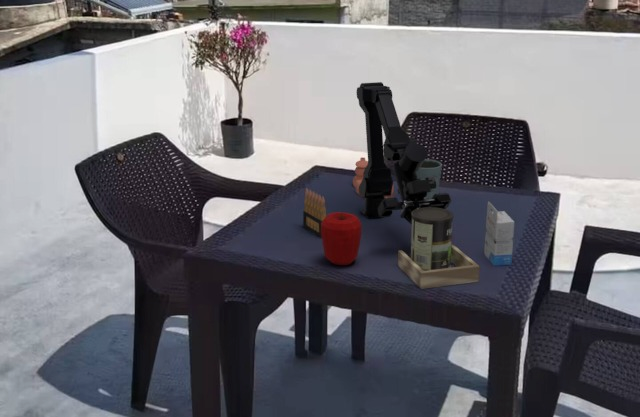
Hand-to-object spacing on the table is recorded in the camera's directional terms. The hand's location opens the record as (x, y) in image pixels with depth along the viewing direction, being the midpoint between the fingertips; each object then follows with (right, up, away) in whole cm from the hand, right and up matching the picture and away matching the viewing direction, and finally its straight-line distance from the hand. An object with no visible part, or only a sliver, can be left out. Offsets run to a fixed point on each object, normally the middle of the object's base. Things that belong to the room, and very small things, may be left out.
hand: (422, 234), depth 202 cm
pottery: (-10, +12, +58) cm, 60 cm away
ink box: (+20, -7, +2) cm, 21 cm away
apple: (-21, -7, 0) cm, 22 cm away
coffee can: (+2, -8, -2) cm, 9 cm away
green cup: (+7, +9, +49) cm, 50 cm away
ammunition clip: (-28, 0, +21) cm, 35 cm away
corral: (+3, -9, -6) cm, 12 cm away
